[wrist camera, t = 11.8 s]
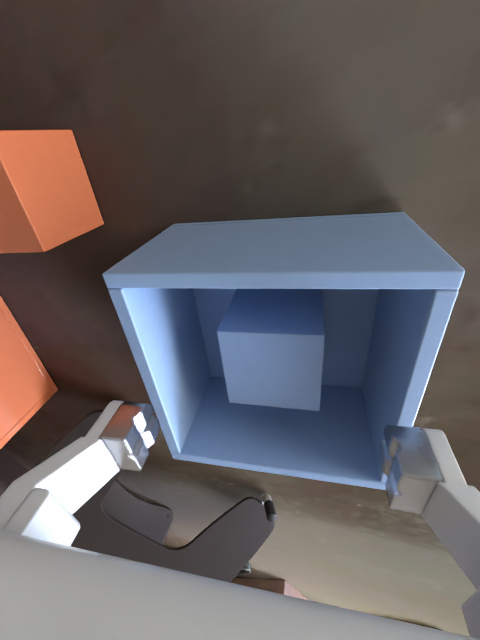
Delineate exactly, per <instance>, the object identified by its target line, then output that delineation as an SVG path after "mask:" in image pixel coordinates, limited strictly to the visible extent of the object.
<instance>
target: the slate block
mask: <svg viewBox="0 0 480 640" xmlns="http://www.w3.org/2000/svg"><path fill="white" fill-rule="evenodd" d="M217 336H218V341H219V347H220V353H221V358H222V364H223V370H224V376H225V381H226V387H227V393H228V399H229V402H230V403H239V404H249V405H260V406H270V407H281V408H291V409H302V410H312V411H319V410H320V398H321V384H322V369H323V355H324V341H325V330H324V312H323V295H322V289H236V292H235V294H234V296H233V298H232V300H231V302H230V304H229V306H228V309H227V311H226V313H225V315H224V317H223V319H222V321H221V324H220V326H219V328H218V330H217Z"/></svg>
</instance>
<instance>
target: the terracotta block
mask: <svg viewBox="0 0 480 640" xmlns="http://www.w3.org/2000/svg"><path fill="white" fill-rule="evenodd" d="M103 224H104V222H103V219H102V216H101V213H100V210H99V207H98V204H97V202H96V199H95V196H94V193H93V190H92V187H91V184H90V181H89V178H88V176H87V173H86V170H85V167H84V164H83V161H82V158H81V155H80V152H79V149H78V147H77V144H76V141H75V138H74V135H73V132H72V130H70V129H68V130H0V253H28V252H46V251H48V250H50V249H52V248H54V247H56V246H59V245H61V244H63V243H65V242H67V241H69V240H71V239H74V238H76V237H78V236H80V235H82V234H84V233H86V232H89V231H91V230H93V229H95V228H97V227H99V226H101V225H103Z"/></svg>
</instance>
